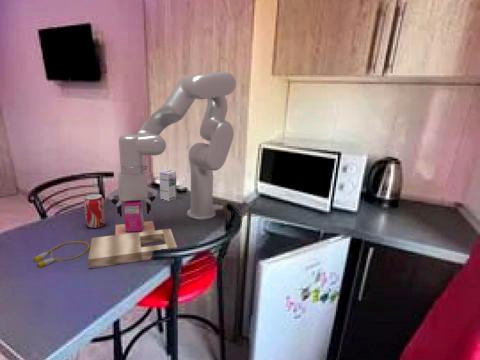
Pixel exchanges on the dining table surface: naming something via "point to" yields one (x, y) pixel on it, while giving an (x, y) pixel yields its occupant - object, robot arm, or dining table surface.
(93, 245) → the wooden cutout board
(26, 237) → the dining table surface
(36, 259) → the extension cord
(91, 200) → the soda can
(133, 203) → the supplement box
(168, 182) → the syrup box
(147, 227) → the mat
